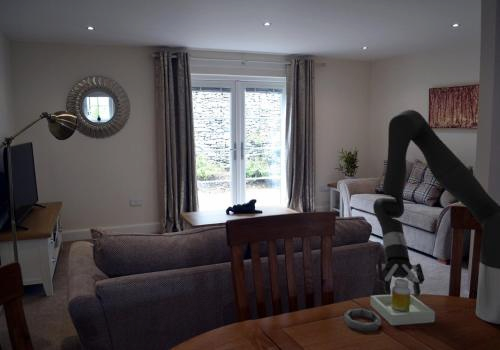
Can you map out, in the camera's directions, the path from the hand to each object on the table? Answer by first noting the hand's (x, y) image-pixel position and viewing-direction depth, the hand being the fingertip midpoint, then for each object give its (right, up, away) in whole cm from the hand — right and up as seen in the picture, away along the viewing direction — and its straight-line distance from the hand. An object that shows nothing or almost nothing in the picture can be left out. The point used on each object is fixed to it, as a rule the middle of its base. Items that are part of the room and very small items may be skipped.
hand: (403, 294), depth 125 cm
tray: (0, -6, +2) cm, 7 cm away
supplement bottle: (0, -6, +2) cm, 6 cm away
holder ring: (-14, -7, -4) cm, 16 cm away
